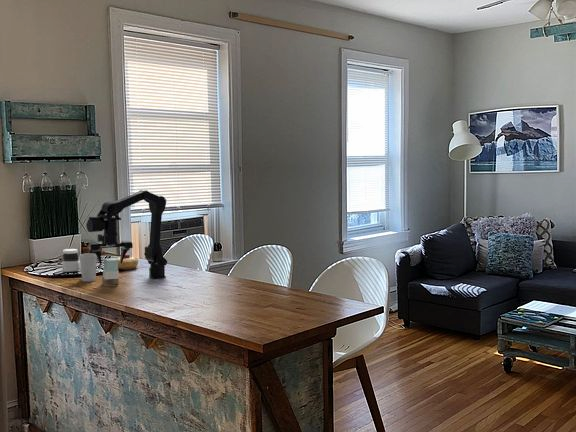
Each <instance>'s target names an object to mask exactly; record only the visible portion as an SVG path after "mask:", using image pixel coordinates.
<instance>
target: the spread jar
mask: <svg viewBox="0 0 576 432" xmlns="http://www.w3.org/2000/svg"><path fill="white" fill-rule="evenodd" d="M78 253H79V251H78V248H65V249H63V250H62V257H61V261H62V262H61V263H62V265H61V266H62V269H61V270H62V274H63V273H67V274H69V273H77V274H79V272H80V273H81V263H80V256H79V254H78ZM67 274H66V275H67Z"/></svg>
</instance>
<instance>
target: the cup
mask: <svg viewBox="0 0 576 432" xmlns="http://www.w3.org/2000/svg"><path fill="white" fill-rule="evenodd" d="M78 256H79V261H80V263H81V272H80V273H81V281H82V282H95V281H97V264H98V263H97V261H98V258H97V256H96V254H95V253H94V252H92V253H90V252H89V253H81V254H78Z"/></svg>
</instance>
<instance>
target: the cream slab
mask: <svg viewBox="0 0 576 432" xmlns="http://www.w3.org/2000/svg"><path fill="white" fill-rule="evenodd" d="M119 274H120V271H119V270H118V271H109V272H107V271H105V270H104V268H103V269H102V277H104V279H119V278H120V277H119Z"/></svg>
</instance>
